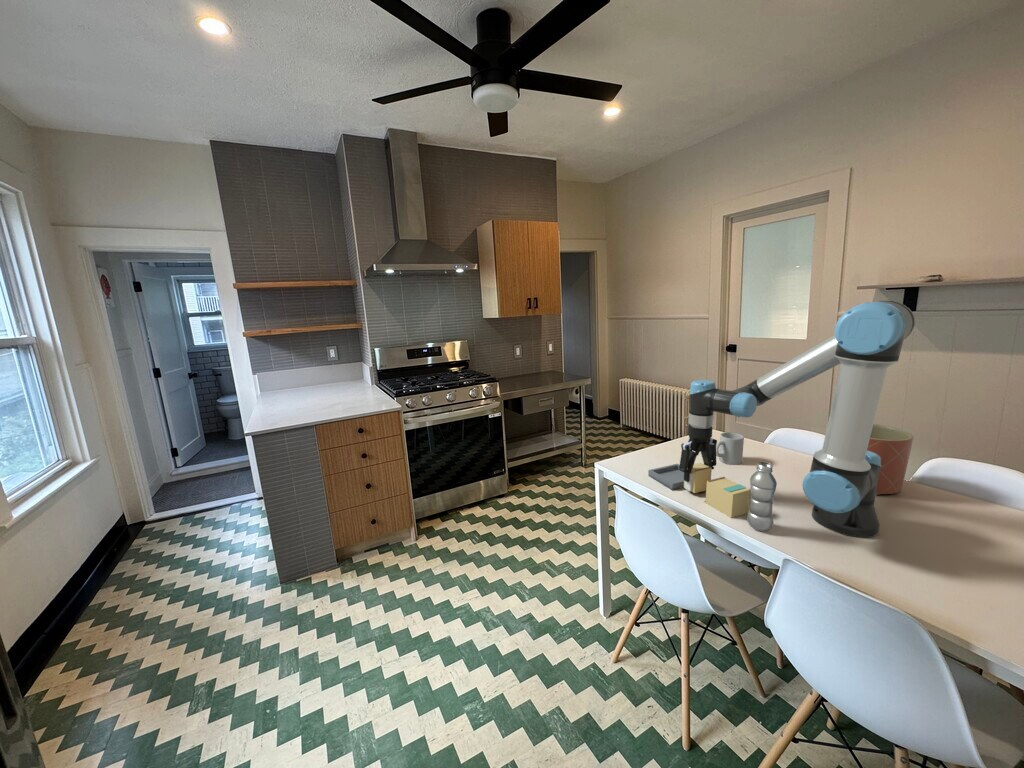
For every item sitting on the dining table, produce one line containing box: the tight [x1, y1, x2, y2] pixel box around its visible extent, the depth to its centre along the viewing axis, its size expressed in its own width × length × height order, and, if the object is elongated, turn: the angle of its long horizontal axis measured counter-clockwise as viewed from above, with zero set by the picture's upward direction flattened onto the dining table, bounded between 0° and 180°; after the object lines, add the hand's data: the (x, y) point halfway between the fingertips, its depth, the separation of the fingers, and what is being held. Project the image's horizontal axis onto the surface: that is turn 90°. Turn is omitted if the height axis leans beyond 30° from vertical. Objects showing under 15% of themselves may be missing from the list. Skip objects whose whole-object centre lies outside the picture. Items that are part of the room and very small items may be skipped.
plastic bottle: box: [746, 461, 778, 532], centre depth 112 cm, size 6×7×20 cm
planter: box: [867, 423, 914, 496], centre depth 134 cm, size 19×19×20 cm
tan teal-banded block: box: [703, 476, 751, 519], centre depth 125 cm, size 11×7×8 cm, turn 20°
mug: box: [716, 432, 745, 466], centre depth 159 cm, size 12×8×11 cm
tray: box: [647, 463, 685, 491], centre depth 147 cm, size 13×14×2 cm
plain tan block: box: [684, 462, 713, 494], centre depth 136 cm, size 5×7×8 cm
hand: (696, 487), depth 137 cm, fingers closed on plain tan block, 7 cm apart
